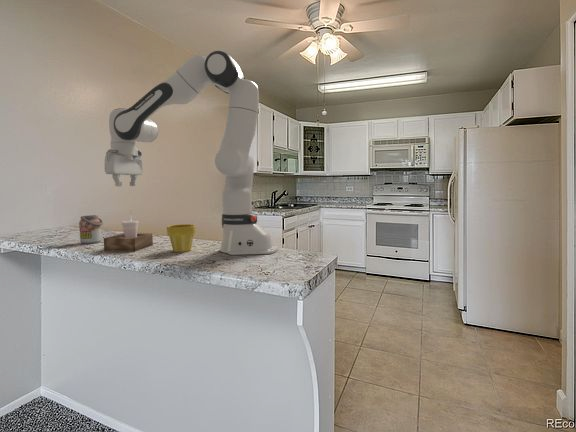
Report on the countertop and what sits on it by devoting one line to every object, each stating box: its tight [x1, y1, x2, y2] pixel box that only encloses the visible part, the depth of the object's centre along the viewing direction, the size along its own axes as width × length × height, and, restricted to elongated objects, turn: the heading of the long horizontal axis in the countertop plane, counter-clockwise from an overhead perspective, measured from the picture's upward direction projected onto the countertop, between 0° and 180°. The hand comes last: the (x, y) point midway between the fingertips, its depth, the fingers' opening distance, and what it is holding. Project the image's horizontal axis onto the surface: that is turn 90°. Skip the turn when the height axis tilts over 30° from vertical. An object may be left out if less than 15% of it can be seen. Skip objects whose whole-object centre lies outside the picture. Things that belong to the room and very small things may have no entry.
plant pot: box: [166, 223, 196, 253], centre depth 127 cm, size 10×10×10 cm
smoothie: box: [121, 210, 140, 238], centre depth 133 cm, size 6×6×14 cm
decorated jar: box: [78, 214, 104, 245], centre depth 145 cm, size 9×8×12 cm
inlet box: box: [102, 232, 154, 252], centre depth 133 cm, size 13×13×5 cm
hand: (126, 186), depth 131 cm, fingers open, 8 cm apart
